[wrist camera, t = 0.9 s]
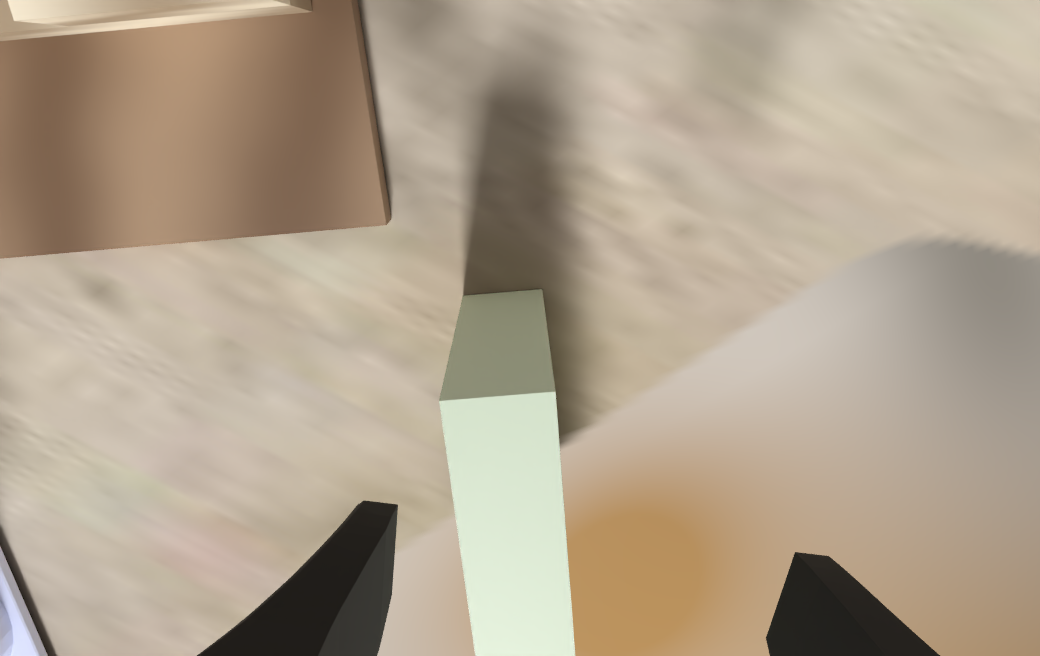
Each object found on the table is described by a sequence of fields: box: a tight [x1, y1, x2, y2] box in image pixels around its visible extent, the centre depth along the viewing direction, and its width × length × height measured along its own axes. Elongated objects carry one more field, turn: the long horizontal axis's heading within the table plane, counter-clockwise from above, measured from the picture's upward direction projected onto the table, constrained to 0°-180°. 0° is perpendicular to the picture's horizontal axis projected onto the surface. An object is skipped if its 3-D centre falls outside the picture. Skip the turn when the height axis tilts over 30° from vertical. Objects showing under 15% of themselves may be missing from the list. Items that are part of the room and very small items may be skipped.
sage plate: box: [439, 289, 575, 656], centre depth 19 cm, size 12×2×7 cm, turn 5°
